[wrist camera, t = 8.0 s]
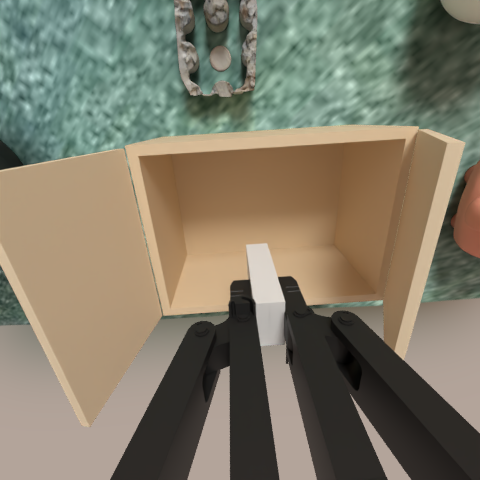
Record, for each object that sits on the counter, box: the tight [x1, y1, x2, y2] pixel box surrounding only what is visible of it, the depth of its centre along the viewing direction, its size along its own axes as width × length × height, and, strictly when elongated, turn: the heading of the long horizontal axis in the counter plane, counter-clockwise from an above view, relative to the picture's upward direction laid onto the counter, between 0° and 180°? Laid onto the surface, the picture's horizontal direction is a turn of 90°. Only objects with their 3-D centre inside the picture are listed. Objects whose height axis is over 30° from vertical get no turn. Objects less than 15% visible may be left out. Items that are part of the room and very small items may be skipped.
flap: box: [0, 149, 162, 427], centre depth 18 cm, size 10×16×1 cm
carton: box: [125, 125, 419, 316], centre depth 28 cm, size 22×16×12 cm
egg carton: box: [174, 0, 257, 97], centre depth 25 cm, size 11×8×4 cm
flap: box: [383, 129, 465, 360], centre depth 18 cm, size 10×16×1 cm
